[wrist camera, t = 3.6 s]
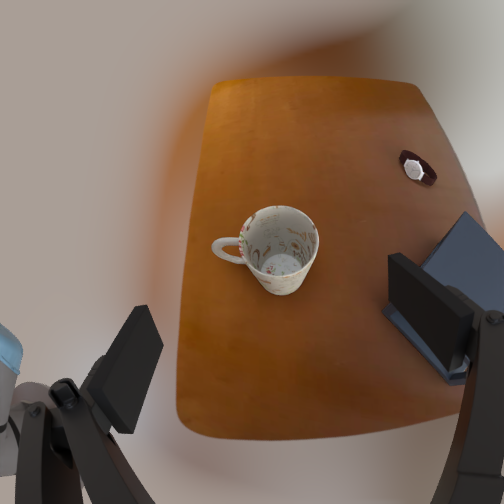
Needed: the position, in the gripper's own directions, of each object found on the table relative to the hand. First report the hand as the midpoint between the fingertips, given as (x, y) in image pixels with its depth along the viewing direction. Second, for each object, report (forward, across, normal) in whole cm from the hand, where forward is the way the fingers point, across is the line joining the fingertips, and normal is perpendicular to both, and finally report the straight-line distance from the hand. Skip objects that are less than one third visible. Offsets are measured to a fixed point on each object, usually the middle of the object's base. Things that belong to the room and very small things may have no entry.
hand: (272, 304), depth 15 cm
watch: (+32, +29, 0) cm, 43 cm away
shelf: (+15, +24, -16) cm, 33 cm away
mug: (+24, 0, -8) cm, 25 cm away
